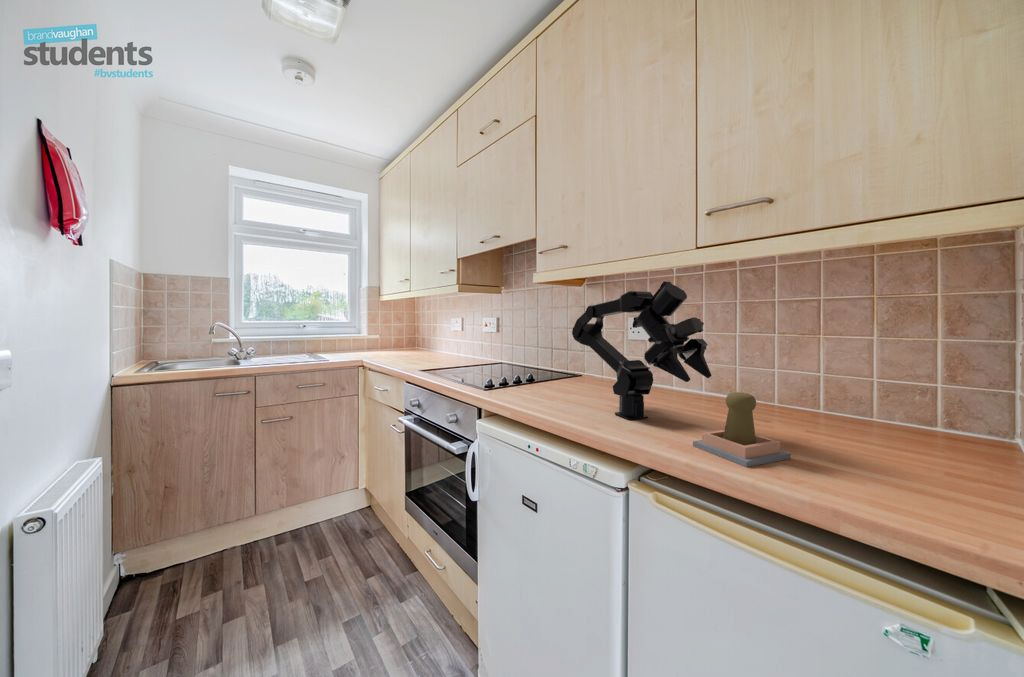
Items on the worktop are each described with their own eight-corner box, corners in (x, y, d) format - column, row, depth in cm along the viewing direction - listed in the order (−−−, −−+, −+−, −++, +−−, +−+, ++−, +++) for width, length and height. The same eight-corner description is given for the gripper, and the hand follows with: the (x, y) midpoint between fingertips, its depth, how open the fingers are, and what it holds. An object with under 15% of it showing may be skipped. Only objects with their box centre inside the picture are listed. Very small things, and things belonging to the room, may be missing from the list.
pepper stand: (692, 445, 78) (693, 431, 78) (733, 439, 82) (734, 426, 82) (746, 467, 67) (746, 450, 67) (790, 458, 71) (791, 443, 71)
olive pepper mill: (716, 441, 78) (717, 390, 77) (745, 441, 77) (746, 390, 77) (732, 451, 72) (734, 396, 71) (764, 452, 71) (766, 396, 71)
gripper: (657, 305, 82) (704, 360, 74) (701, 306, 93) (746, 354, 84) (627, 338, 89) (667, 391, 81) (671, 335, 100) (710, 382, 91)
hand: (699, 379), depth 84 cm, fingers open, 9 cm apart
